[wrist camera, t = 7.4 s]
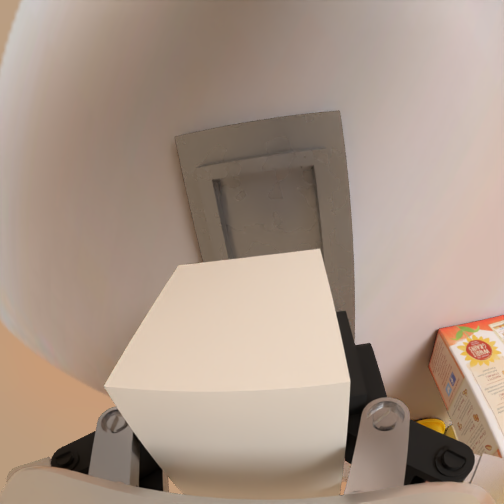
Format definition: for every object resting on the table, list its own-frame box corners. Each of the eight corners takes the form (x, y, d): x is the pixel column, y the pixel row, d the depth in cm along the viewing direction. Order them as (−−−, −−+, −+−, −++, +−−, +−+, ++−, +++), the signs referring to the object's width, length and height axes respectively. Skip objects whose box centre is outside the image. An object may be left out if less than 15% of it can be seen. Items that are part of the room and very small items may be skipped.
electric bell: (178, 135, 23) (116, 150, 14) (337, 110, 21) (375, 106, 12) (247, 409, 34) (237, 481, 25) (350, 400, 33) (361, 473, 23)
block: (178, 265, 11) (103, 386, 6) (319, 248, 11) (350, 381, 5) (229, 420, 15) (210, 522, 9) (328, 415, 14) (335, 522, 9)
